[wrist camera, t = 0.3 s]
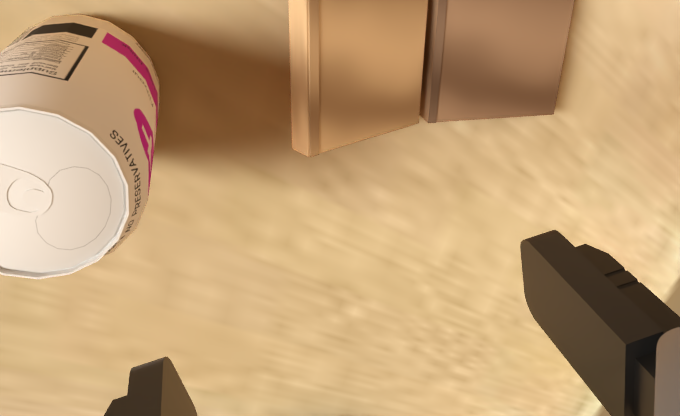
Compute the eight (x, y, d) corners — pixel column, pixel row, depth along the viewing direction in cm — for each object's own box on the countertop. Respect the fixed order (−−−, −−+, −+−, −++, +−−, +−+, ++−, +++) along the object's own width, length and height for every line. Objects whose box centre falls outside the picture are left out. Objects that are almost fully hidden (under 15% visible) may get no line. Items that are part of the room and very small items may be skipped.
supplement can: (180, 49, 36) (177, 140, 23) (132, 170, 38) (105, 314, 25) (32, -15, 32) (-70, 48, 19) (-9, 121, 35) (-123, 257, 22)
